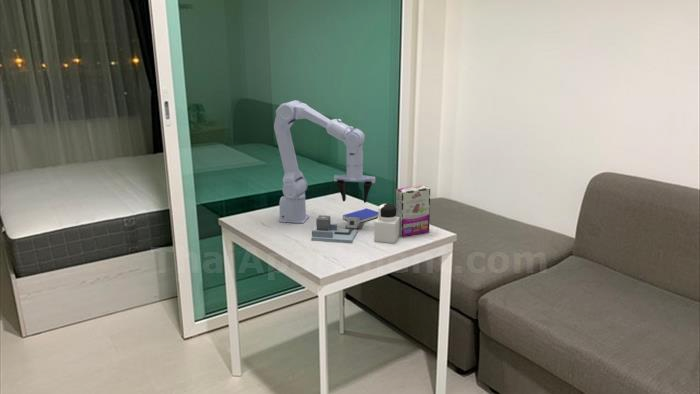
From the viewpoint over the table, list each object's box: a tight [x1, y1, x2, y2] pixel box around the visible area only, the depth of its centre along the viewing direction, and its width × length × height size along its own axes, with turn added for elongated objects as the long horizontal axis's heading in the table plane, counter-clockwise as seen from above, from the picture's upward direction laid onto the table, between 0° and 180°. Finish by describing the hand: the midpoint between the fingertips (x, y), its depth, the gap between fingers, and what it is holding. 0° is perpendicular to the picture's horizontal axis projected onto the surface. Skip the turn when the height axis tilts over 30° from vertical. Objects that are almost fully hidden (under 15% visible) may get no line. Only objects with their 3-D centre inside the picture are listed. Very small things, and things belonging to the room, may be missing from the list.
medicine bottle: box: [373, 203, 400, 244], centre depth 179 cm, size 7×7×12 cm
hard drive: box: [342, 208, 378, 223], centre depth 201 cm, size 2×8×12 cm
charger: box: [315, 215, 332, 231], centre depth 183 cm, size 4×4×6 cm
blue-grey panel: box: [310, 223, 358, 244], centre depth 184 cm, size 14×12×3 cm
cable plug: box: [346, 217, 360, 228], centre depth 189 cm, size 4×4×6 cm
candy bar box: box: [395, 184, 431, 238], centre depth 183 cm, size 11×5×16 cm, turn 114°
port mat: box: [344, 222, 365, 231], centre depth 193 cm, size 6×6×1 cm
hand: (354, 201), depth 190 cm, fingers open, 7 cm apart
